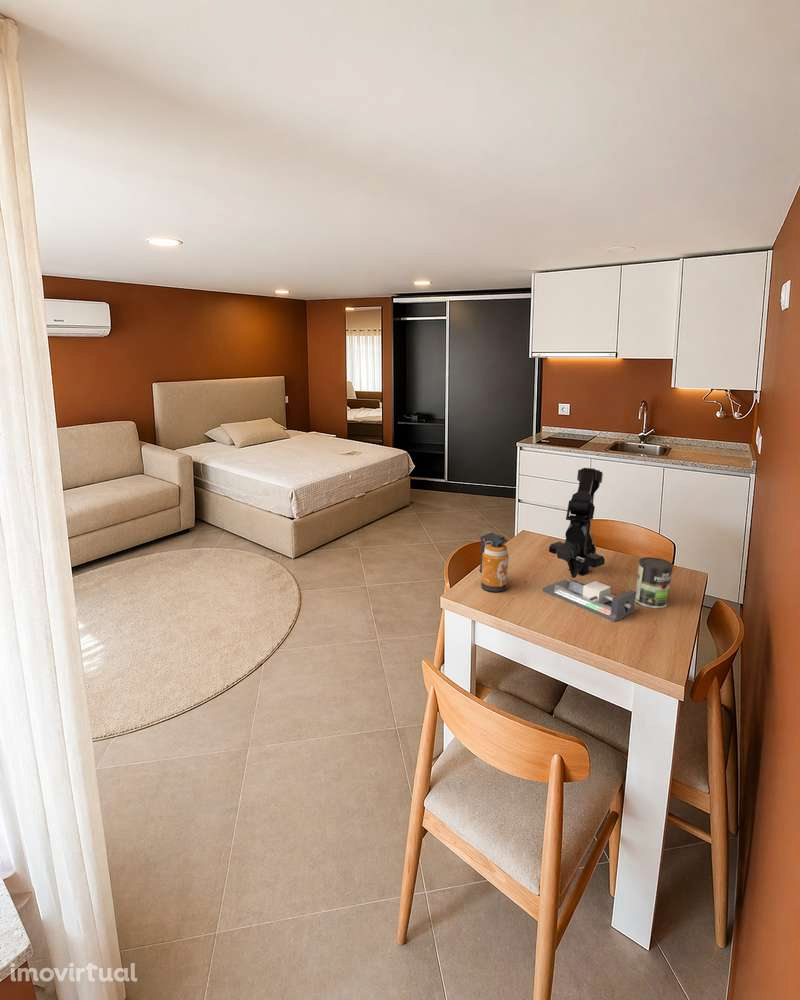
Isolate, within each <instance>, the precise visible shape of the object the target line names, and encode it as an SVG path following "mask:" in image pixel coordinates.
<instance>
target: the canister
mask: <svg viewBox="0 0 800 1000" xmlns="http://www.w3.org/2000/svg"><path fill="white" fill-rule="evenodd" d="M479 538H480V543H481V545H480V564H479V565H480V567H479V569H478V571H479V573H480V575H481V578H480V579H481V583H480V587H481V588H483V590H486V591H489V592H496V593H497V592H502V591H505V590H506V589H507V587H508V573H509V572H508V571H509V556H510V555H509V553H508V547H507V545H506V544H504V543H506V542H508V539H507V538H506V537H505V536H503V535H498V534H495V533H494V532H492V531H491V532H490V533H486V534H484V535H482V536H480V537H479Z"/></svg>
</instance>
